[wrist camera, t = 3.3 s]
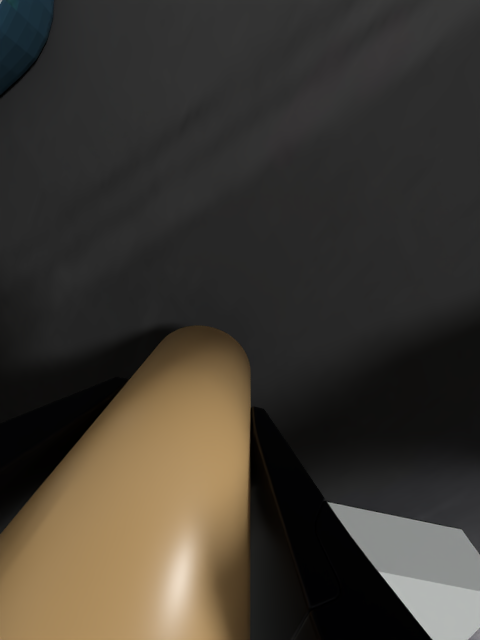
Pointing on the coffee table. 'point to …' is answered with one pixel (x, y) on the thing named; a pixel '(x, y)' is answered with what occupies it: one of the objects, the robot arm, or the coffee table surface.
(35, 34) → the external hard drive
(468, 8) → the coffee table surface
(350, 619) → the robot arm
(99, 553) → the tan peg
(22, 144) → the coffee table surface
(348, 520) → the grey board with hole
